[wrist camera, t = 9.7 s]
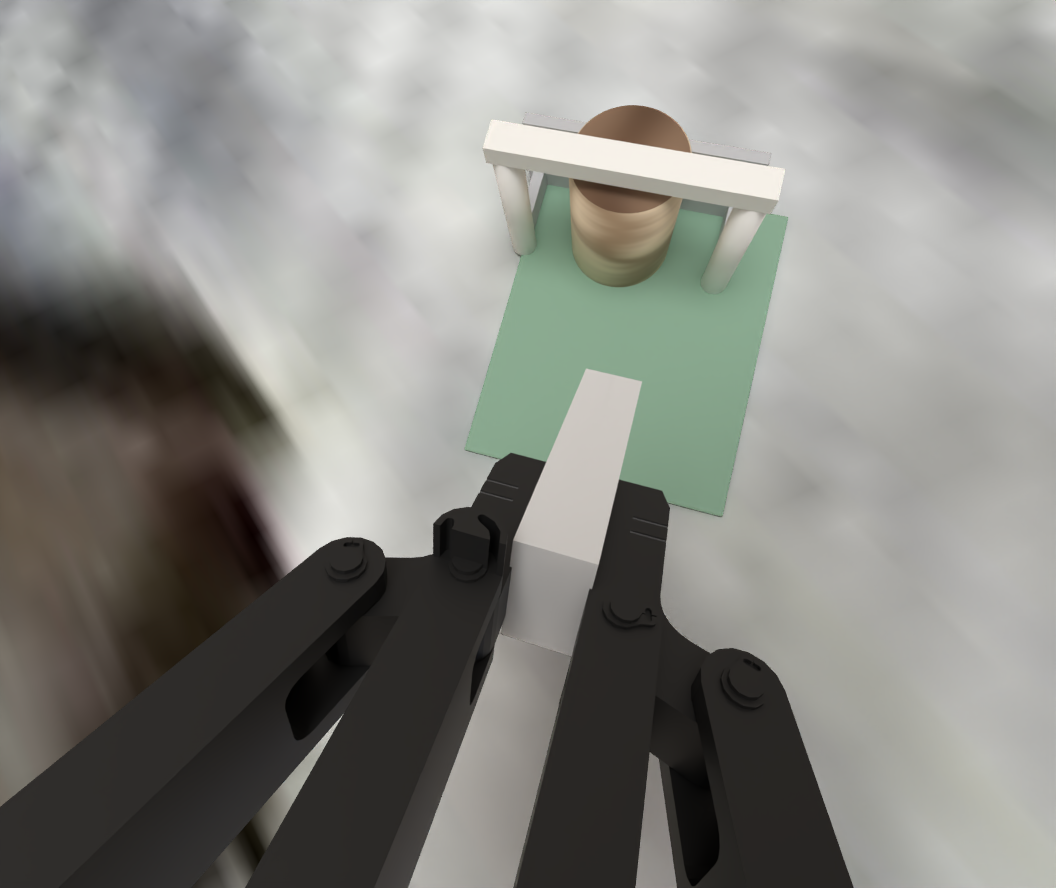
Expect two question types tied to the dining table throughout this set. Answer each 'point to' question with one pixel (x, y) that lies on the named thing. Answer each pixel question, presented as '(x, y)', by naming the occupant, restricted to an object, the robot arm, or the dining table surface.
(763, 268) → the pitch
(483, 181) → the dining table surface
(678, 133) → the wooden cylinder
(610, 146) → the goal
